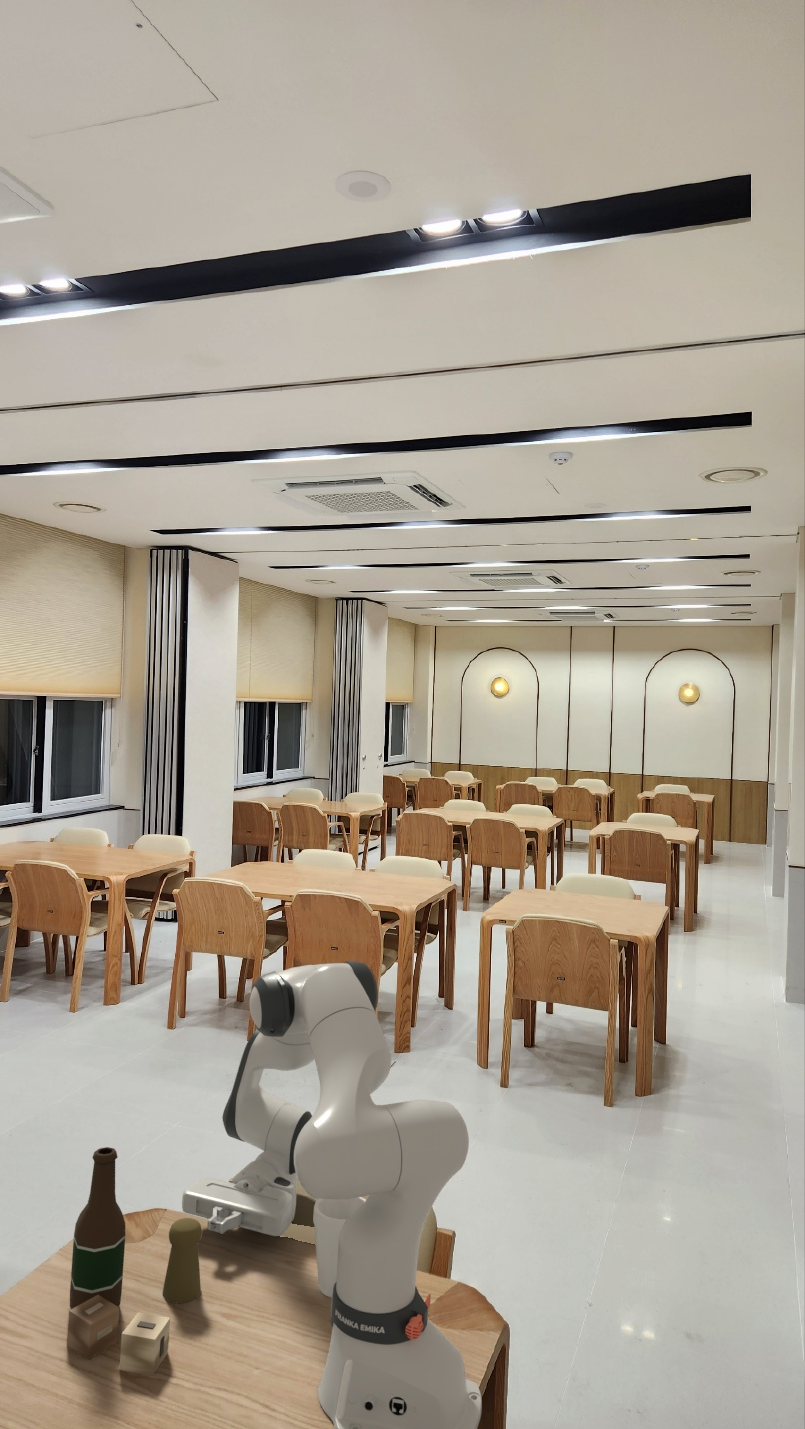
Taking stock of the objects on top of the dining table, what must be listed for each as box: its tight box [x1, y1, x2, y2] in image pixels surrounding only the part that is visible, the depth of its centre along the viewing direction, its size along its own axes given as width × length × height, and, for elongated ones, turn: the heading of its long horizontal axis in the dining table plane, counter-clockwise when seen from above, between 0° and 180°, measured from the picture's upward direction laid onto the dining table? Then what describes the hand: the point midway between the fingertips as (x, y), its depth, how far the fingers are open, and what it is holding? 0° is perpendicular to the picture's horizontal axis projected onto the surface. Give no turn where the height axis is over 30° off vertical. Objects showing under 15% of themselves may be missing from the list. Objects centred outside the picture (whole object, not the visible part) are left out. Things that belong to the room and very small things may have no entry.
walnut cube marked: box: [66, 1295, 120, 1361], centre depth 132 cm, size 5×5×5 cm
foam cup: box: [312, 1197, 367, 1298], centre depth 149 cm, size 10×9×13 cm
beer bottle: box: [69, 1146, 126, 1310], centre depth 141 cm, size 8×8×24 cm
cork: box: [162, 1217, 203, 1304], centre depth 146 cm, size 6×6×11 cm
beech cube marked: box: [118, 1311, 171, 1377], centre depth 129 cm, size 5×5×5 cm
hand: (214, 1227), depth 154 cm, fingers closed
